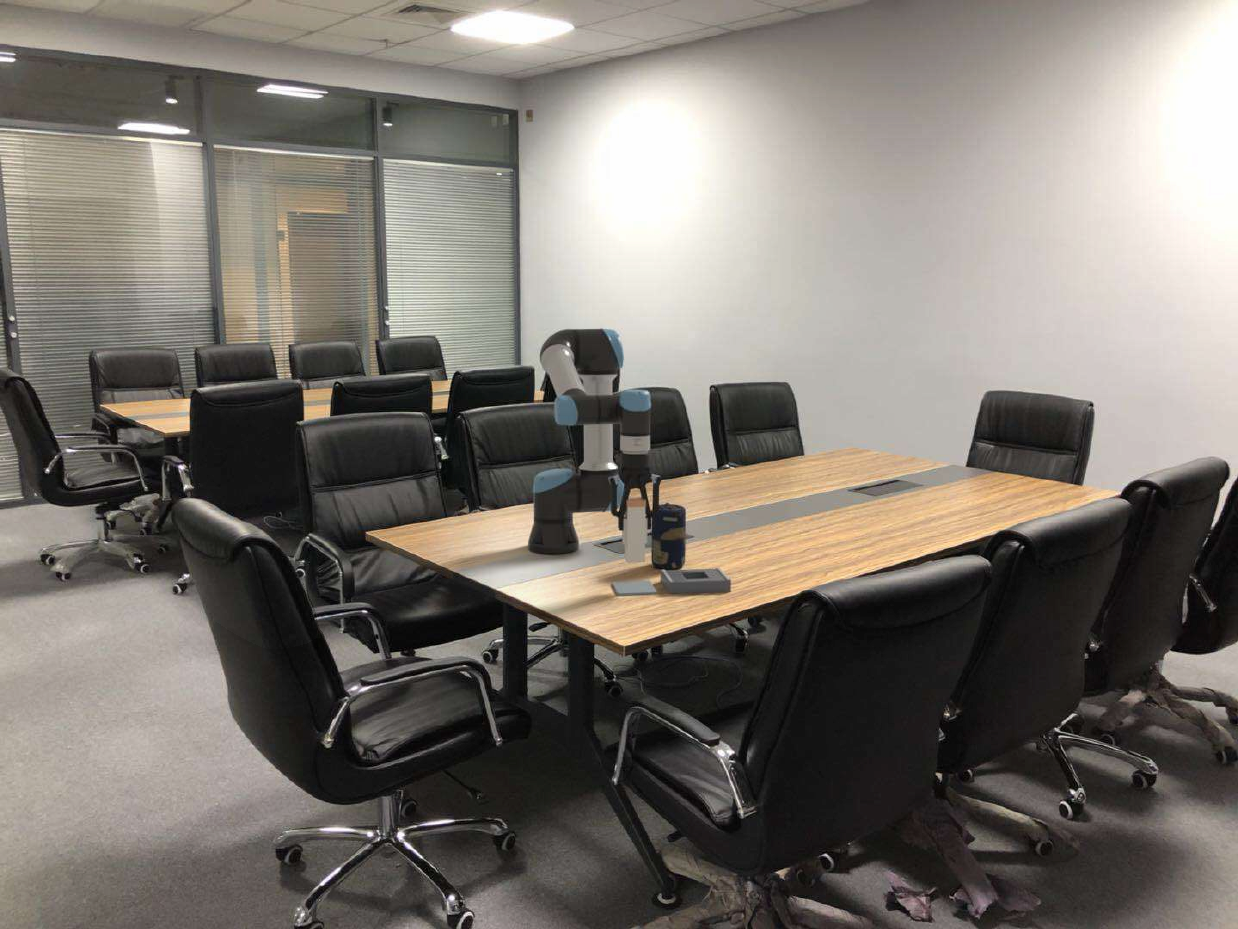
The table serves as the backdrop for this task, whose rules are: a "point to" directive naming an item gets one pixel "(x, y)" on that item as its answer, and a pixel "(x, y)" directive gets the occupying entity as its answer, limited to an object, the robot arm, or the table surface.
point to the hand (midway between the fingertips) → (634, 542)
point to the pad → (634, 588)
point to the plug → (635, 530)
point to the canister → (669, 536)
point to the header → (695, 581)
